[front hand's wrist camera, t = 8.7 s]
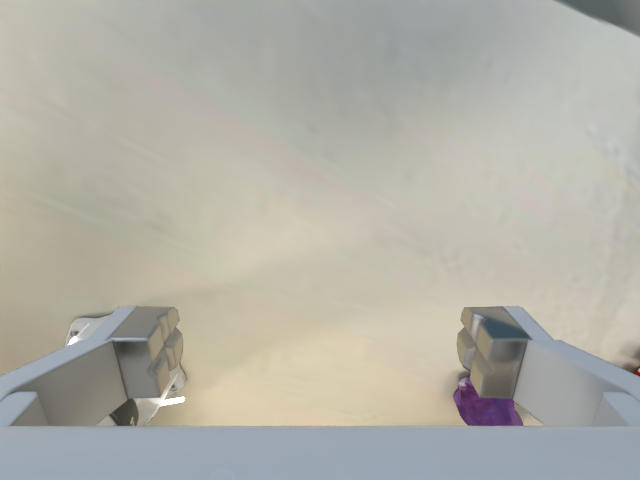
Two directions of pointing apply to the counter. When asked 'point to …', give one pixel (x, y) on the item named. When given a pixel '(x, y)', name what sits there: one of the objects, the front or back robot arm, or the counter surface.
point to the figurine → (484, 407)
